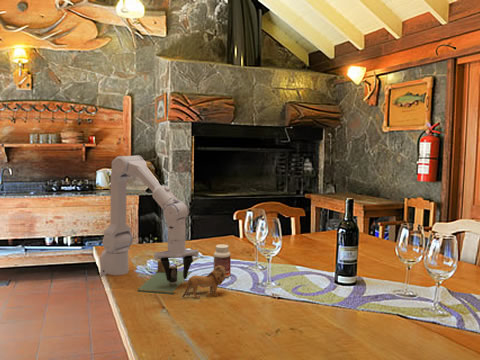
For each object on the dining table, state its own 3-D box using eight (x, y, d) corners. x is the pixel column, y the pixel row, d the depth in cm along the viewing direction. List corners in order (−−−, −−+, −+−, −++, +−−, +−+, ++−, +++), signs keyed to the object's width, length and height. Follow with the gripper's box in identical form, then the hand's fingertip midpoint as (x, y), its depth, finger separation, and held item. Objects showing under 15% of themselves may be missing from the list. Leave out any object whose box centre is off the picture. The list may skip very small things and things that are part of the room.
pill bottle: (233, 276, 159) (234, 246, 158) (219, 279, 156) (219, 249, 154) (224, 271, 164) (225, 243, 163) (210, 274, 161) (210, 245, 160)
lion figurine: (221, 289, 146) (221, 262, 145) (228, 294, 141) (228, 267, 140) (179, 296, 139) (179, 268, 138) (184, 302, 135) (184, 273, 134)
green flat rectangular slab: (137, 292, 142) (137, 288, 142) (161, 272, 163) (161, 269, 163) (173, 294, 140) (173, 291, 140) (192, 274, 161) (192, 271, 161)
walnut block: (157, 272, 160) (157, 261, 159) (160, 269, 162) (159, 259, 162) (165, 272, 159) (165, 261, 159) (167, 270, 162) (167, 259, 162)
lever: (167, 286, 144) (167, 269, 143) (164, 270, 161) (164, 254, 161) (179, 286, 145) (179, 268, 144) (175, 269, 162) (175, 254, 162)
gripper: (155, 243, 139) (156, 284, 140) (200, 240, 143) (200, 280, 145) (153, 238, 145) (153, 277, 147) (196, 235, 150) (195, 274, 151)
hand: (176, 278), depth 146 cm, fingers open, 5 cm apart
